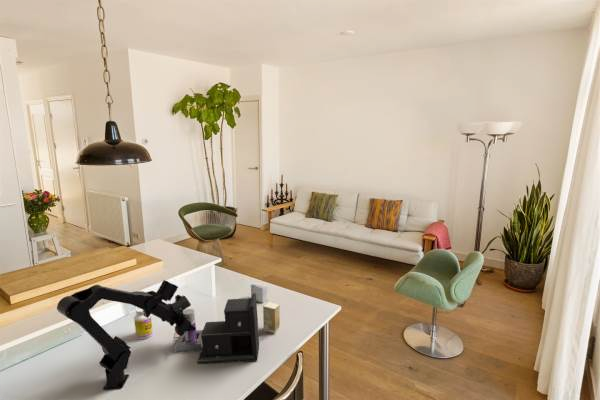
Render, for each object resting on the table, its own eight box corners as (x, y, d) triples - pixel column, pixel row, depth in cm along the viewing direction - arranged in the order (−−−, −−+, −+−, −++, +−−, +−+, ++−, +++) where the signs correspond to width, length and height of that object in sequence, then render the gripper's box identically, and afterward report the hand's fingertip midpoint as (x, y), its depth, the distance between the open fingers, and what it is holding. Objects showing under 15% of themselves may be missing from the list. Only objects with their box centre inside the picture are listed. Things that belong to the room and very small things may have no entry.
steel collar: (201, 350, 139) (200, 344, 138) (175, 352, 138) (175, 346, 137) (205, 336, 149) (205, 329, 148) (181, 337, 148) (181, 331, 147)
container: (198, 340, 146) (195, 308, 143) (195, 347, 141) (192, 314, 138) (187, 340, 145) (184, 308, 142) (184, 347, 141) (180, 314, 138)
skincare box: (263, 331, 152) (262, 305, 149) (268, 326, 155) (267, 301, 153) (275, 334, 149) (275, 308, 146) (280, 329, 153) (279, 304, 150)
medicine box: (268, 299, 180) (267, 284, 178) (263, 303, 176) (262, 288, 174) (256, 296, 184) (255, 281, 182) (251, 299, 180) (250, 284, 178)
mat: (190, 336, 148) (190, 335, 148) (174, 337, 148) (174, 337, 148) (193, 327, 155) (193, 326, 155) (178, 328, 155) (178, 328, 155)
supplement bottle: (146, 340, 146) (143, 313, 144) (133, 339, 147) (129, 312, 145) (156, 331, 153) (153, 305, 150) (143, 330, 154) (139, 304, 151)
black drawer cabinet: (196, 364, 131) (191, 308, 126) (203, 347, 141) (198, 294, 137) (257, 361, 132) (254, 306, 127) (259, 344, 142) (257, 292, 137)
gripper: (183, 302, 129) (213, 319, 137) (170, 285, 144) (197, 301, 152) (164, 328, 126) (196, 344, 134) (152, 308, 141) (181, 323, 149)
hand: (193, 326), depth 143 cm, fingers closed on container, 5 cm apart
